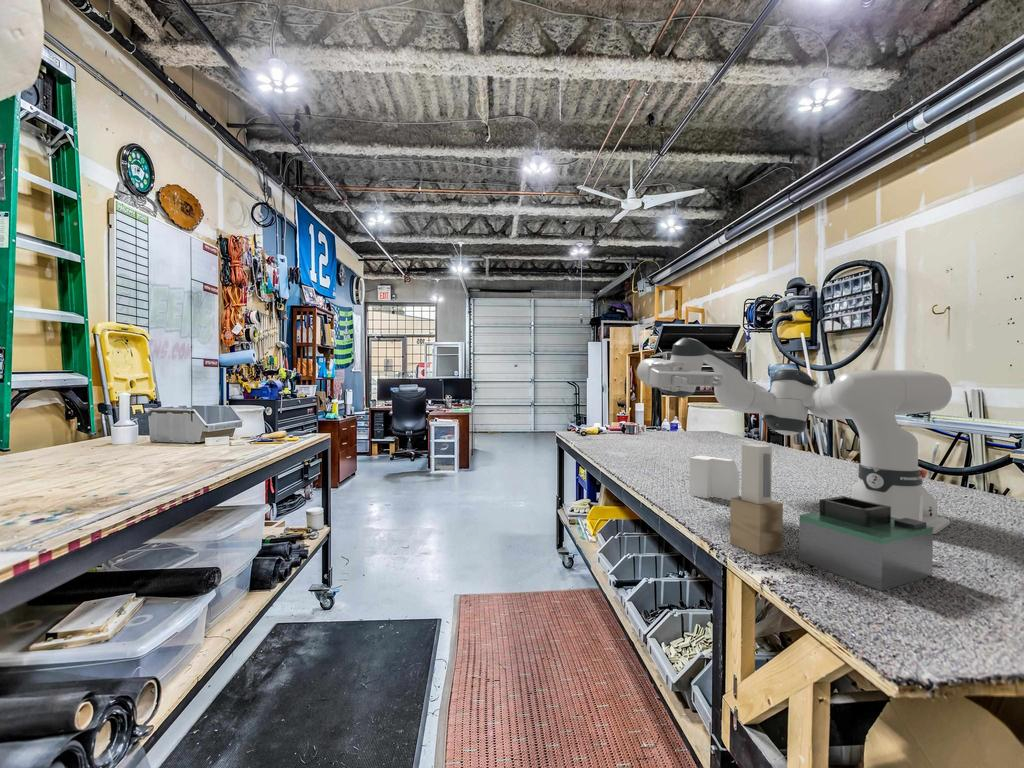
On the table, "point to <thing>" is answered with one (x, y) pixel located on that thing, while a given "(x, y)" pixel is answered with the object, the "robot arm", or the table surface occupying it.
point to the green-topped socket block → (866, 543)
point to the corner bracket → (714, 477)
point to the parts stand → (756, 526)
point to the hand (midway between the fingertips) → (704, 382)
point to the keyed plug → (756, 473)
